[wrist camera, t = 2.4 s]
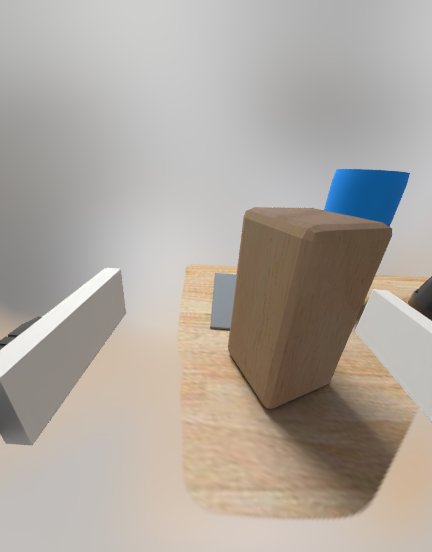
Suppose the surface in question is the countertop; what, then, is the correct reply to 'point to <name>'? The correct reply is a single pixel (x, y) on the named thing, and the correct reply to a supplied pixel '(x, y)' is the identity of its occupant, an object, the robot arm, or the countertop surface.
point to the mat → (223, 301)
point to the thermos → (366, 193)
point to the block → (299, 296)
